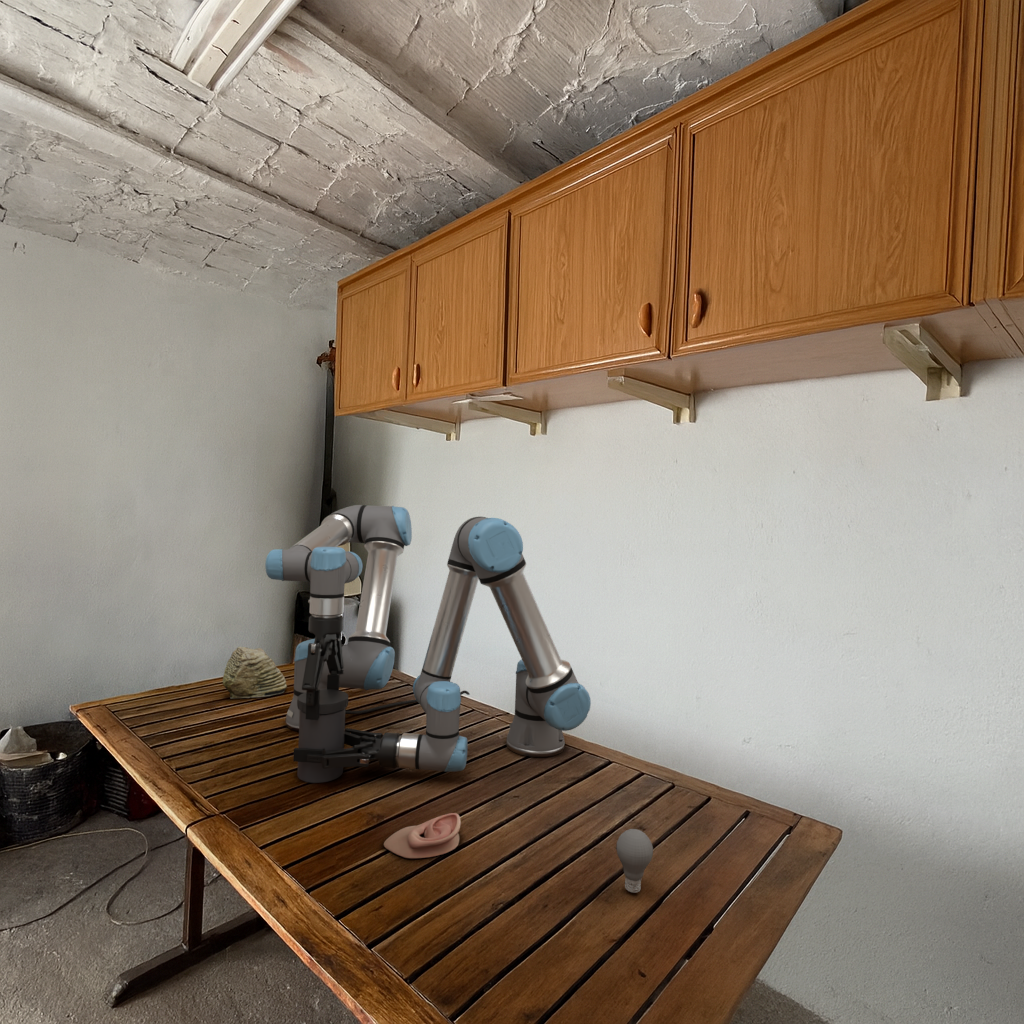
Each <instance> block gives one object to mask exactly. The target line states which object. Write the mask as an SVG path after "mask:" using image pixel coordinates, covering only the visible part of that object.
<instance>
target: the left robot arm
mask: <svg viewBox="0 0 1024 1024" xmlns="http://www.w3.org/2000/svg"><path fill="white" fill-rule="evenodd" d="M412 529H413V528H412V521H411V516H410V513H409V511H408V509H407V508H405V507H403V506H394V505H391V506H390V505H368V504H367V505H365V504H354V505H350V506H347V507H343V508H340V509H338V510H335V511H334V512H332V513H330V514H329V515H327V516H326V517H324V518H323V520H322V521H321V523H320V526H318V527H317V528H315V529H314V530H312V531H311V532H310V533H308V534H307V535H305V536H303V538H301V539H300V540H299V541H297V542H296V543H294V544H293V545H292V546H290V547H289V548H287V549H284V548H279V549H277V548H276V549H271V550H270V551H269V552H268V554H267V556H266V557H265V566H264V567H265V568H264V569H265V573H266V576H267V577H268V578H269V579H271V580H276V581H281V582H306V583H307V582H308V583H309V582H310V586H309V587H310V589H309V590H310V591H309V599H308V601H307V603H308V604H309V614H310V616H309V617H308V632H309V633H310V634H313V635H314V636H315V637H314V638H312V639H307V640H304V641H302V642H300V643H298V644H297V645H296V647H295V654H294V659H293V661H294V670H293V671H294V672H293V695H292V696H293V697H292V699H291V702H290V704H289V708H288V709H287V713H286V715H285V726H286V728H287V729H289V730H291V731H294V732H295V731H296V732H299V717H300V710H299V709H298V707H297V700H298V696H299V695H301V694H303V693H305V692H307V693H306V719H309V720H318V719H319V700H320V690H322V689H332V690H339V691H340V689H341V688H342V689H359V690H365V691H370V690H382V689H383V688H384V687H385V686H386V685H387V684H388V683H389V681H390V678H391V677H392V676H391V675H392V673H393V670H394V666H395V657H396V653H395V649H394V648H393V647H392V646H391V641H390V639H389V638H388V637H387V629H388V623H389V616H390V610H391V602H392V596H393V591H394V589H393V588H394V583H395V576H396V569H397V563H398V557H400V556H401V555H402V554H403V553H404V550H405V547H408V546H410V545H411V542H412V537H413V531H412ZM348 543H350V544H351V543H355V544H363V545H364V549H365V550H366V552H367V559H366V566H365V569H364V571H365V572H364V577H363V583H362V589H361V595H360V600H359V608H358V612H357V619H356V623H355V624H356V625H355V630H354V632H353V633H352V634H350V635H349V636H348V638H347V644H342V632H343V630H344V616H343V614H344V613H345V586H346V585H345V584H349V583H352V582H354V581H356V579H357V578H359V576H360V575H362V572H363V568H364V567H363V561H362V559H361V557H360V556H359V555H358V554H357V553H355V552H354V551H346V550H345V548H343V547H340V546H344V545H347V544H348ZM464 694H466V695H467V696H469V695H471V694H470V692H469V691H467V690H462V691H460V696H462V695H464ZM413 703H418V702H417V700H416V699H408V700H402V701H397V702H392V703H389V704H388V703H387V704H382V705H379V706H375V707H371V708H367V709H362V710H345V715H362V714H367V713H371V712H375V711H378V710H383V709H387V708H392V707H396V706H400V705H408V704H413Z"/></svg>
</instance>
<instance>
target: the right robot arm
mask: <svg viewBox="0 0 1024 1024" xmlns="http://www.w3.org/2000/svg"><path fill="white" fill-rule="evenodd" d="M523 551H524V543H523V539H522V535H521V534H520V532H519V530H518V529H517V528H516V527H515V526H514V525H513V524H511V523H510V522H508V521H506V520H505V519H502V518H500V517H499V518H497V517H486V516H473V517H471V518H468V519H466V520H465V521H464V522H463V523H462V524H461V525H460V526H459V527H458V528H457V531H456V533H455V536H454V537H453V541H452V544H451V549H450V553H449V556H448V559H447V562H446V566H447V568H448V570H449V571H448V574H447V577H446V582H445V586H444V589H443V592H442V595H441V600H440V603H439V607H438V609H437V610H438V611H437V614H436V618H435V621H434V626H433V628H432V631H431V632H432V633H431V636H430V639H429V642H428V647H427V650H426V654H425V658H424V660H423V665H422V668H421V671H420V674H419V675H418V676H417V677H416V678H415V679H414V681H413V684H412V692H413V696H414V700H417V702H416V703H418V704H419V706H420V707H421V708H422V710H423V712H424V713H425V719H426V720H425V721H426V722H425V734H423V733H407V732H403V733H402V734H400V733H399V732H385V733H384V734H383V733H382V732H373V731H366V730H360V729H354V728H349V727H345V732H344V745H346V746H349V747H347V748H344V749H340V750H333V751H326V750H325V748H324V749H305V748H298V747H294V748H293V759H292V761H293V762H297V763H298V762H312V763H322V768H324V769H325V768H341V767H343V768H354V767H355V768H357V767H359V768H360V767H361V768H369V766H370V762H373V761H378V763H379V767H380V768H382V769H396V768H399V769H404V770H405V769H407V770H409V771H411V772H412V771H413V770H425V771H436V772H444V773H447V772H449V773H450V772H462V771H463V770H465V768H466V766H467V760H468V750H469V749H468V747H469V746H468V744H469V742H468V738H467V737H466V736H462V735H460V716H461V703H462V698H461V695H460V692H461V687H460V685H459V684H458V683H456V682H453V681H451V680H452V675H453V672H454V669H455V664H456V661H457V659H458V654H459V650H460V646H461V643H462V639H463V636H464V633H465V629H466V626H467V622H468V618H469V615H470V611H471V607H472V604H473V601H474V597H475V593H476V590H477V586H478V583H480V585H482V586H484V587H488V588H489V590H490V591H491V593H492V595H493V598H494V600H495V602H496V605H497V607H498V610H499V611H500V613H501V617H502V619H503V620H504V623H505V625H506V627H507V629H508V632H509V634H510V636H511V638H512V641H513V643H514V645H515V647H516V649H517V651H518V654H519V656H520V658H521V659H519V660H518V662H517V664H516V671H515V693H514V694H515V695H514V696H515V698H514V716H513V719H512V721H511V722H509V729H508V731H507V732H508V733H507V735H506V745H505V746H506V747H507V749H508V750H510V751H512V752H513V753H515V754H518V755H521V756H525V757H530V758H547V757H548V758H549V757H553V756H558V755H559V754H561V753H562V752H563V751H564V750H565V746H566V745H565V736H564V733H563V732H566V731H571V730H575V729H576V728H577V727H579V726H580V725H582V724H583V722H585V720H586V719H587V717H588V714H589V712H590V710H591V704H592V702H591V701H592V700H591V696H590V693H589V692H588V690H587V689H586V687H585V686H584V685H582V684H581V683H579V681H578V679H577V677H576V674H575V672H574V670H573V668H572V665H571V663H570V662H569V661H567V660H566V659H565V660H564V659H562V658H561V655H560V653H559V651H558V649H557V646H556V645H555V643H554V639H553V638H552V635H551V633H550V631H549V629H548V626H547V623H546V621H545V619H544V617H543V615H542V613H541V610H540V607H539V605H538V603H537V601H536V599H535V596H534V594H533V591H532V589H531V587H530V585H529V582H528V580H527V578H526V575H525V573H524V572H525V568H526V566H527V562H526V560H525V557H524V555H523Z"/></svg>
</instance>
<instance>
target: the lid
mask: <svg viewBox="0 0 1024 1024" xmlns="http://www.w3.org/2000/svg"><path fill="white" fill-rule="evenodd" d="M306 693H307V692H305V693H303V694H301V695H299V696H298V700H297V707H298V709H299V710H300V711H303V712H306ZM348 706H349V693H347V692H345V691H342V690H340V689H339V690H332V689H322V690H320V700H319V714H324V713H332V712H337V711H340V710H343V709H345V710H346V708H347V707H348Z"/></svg>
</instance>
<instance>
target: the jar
mask: <svg viewBox="0 0 1024 1024" xmlns="http://www.w3.org/2000/svg"><path fill="white" fill-rule="evenodd" d="M345 711H346V708H345V709H343V710H340V711H337V712H332V713H324V714H319V719H318V720H309V719H306V712H303V711H300V717H299V731H298V747H297V748H305V749H324V748H325V750H326V751H333V750H340V749H345V744H344V732H345V729H346V714H345ZM296 772H297V773H296V775H297V778H298V779H299V780H300V781H303V782H305V783H311V784H318V783H319V784H321V783H327V782H332V781H334V780H337V779H338V778H340V777H341V776H342V775H343V773H344V767H341V768H325V769H324V768H322V763H312V762H297V771H296Z"/></svg>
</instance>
